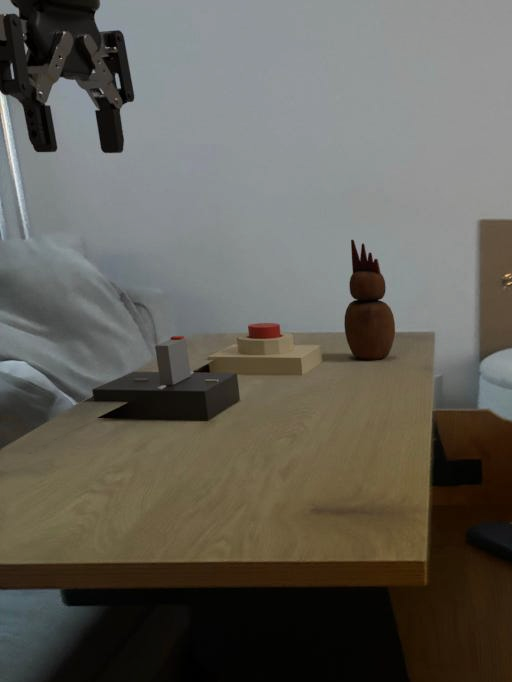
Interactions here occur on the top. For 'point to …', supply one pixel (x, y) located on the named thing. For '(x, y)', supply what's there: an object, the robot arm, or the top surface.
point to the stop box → (266, 357)
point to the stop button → (264, 330)
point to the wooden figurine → (368, 310)
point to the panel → (169, 396)
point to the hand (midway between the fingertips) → (80, 152)
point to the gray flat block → (173, 360)
